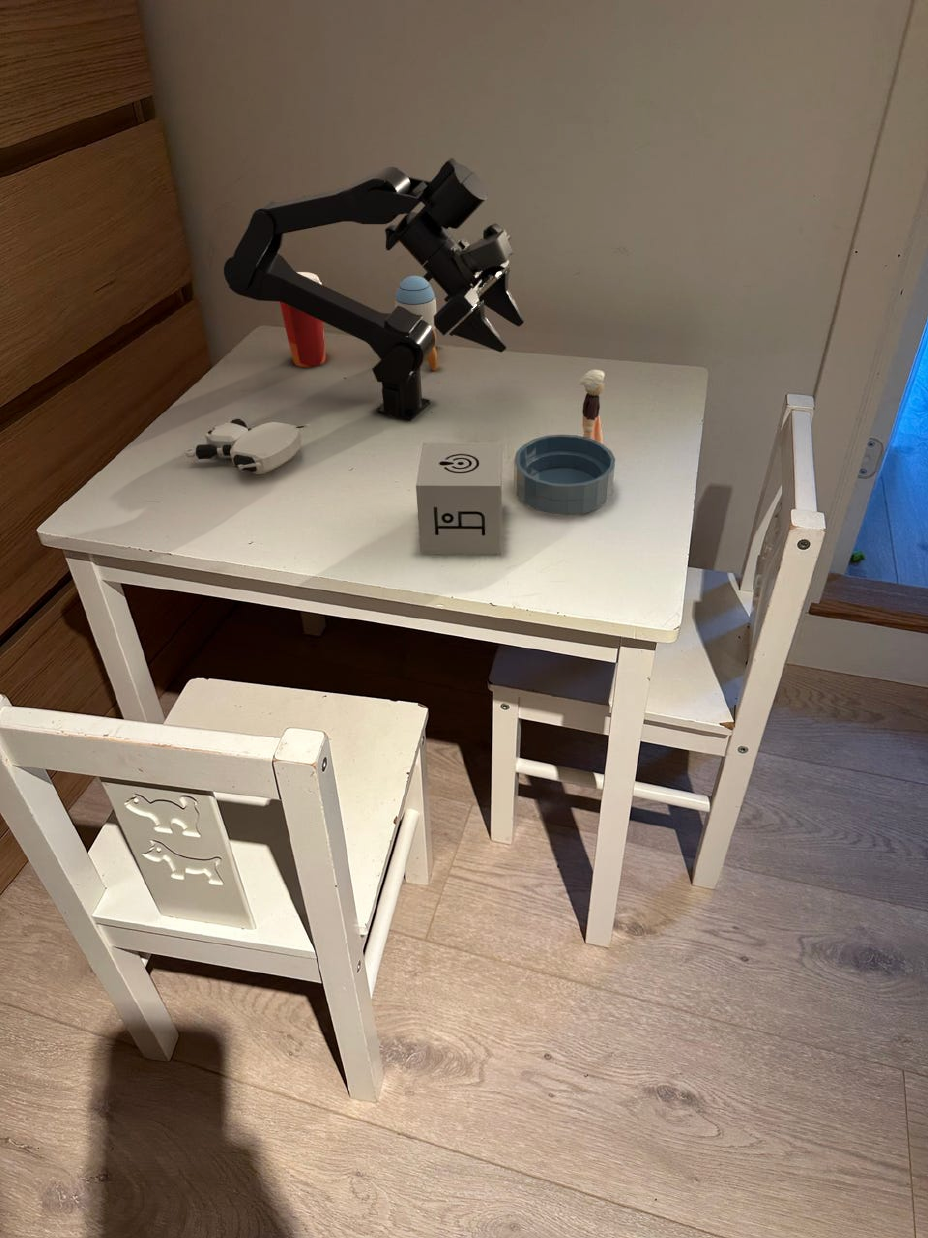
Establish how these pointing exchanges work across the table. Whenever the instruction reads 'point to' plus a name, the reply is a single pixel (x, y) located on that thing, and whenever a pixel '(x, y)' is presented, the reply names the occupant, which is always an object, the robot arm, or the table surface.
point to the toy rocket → (419, 305)
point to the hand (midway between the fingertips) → (513, 336)
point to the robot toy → (251, 445)
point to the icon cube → (460, 498)
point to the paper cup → (304, 333)
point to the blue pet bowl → (563, 474)
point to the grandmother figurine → (592, 404)
